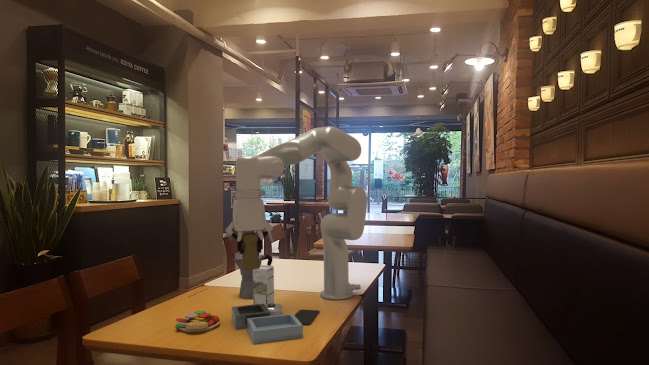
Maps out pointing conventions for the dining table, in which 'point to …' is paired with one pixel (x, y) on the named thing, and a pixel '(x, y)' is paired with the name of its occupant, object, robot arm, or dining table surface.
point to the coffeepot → (249, 277)
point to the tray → (274, 328)
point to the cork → (250, 252)
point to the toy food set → (198, 322)
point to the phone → (306, 316)
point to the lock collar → (253, 313)
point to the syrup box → (263, 285)
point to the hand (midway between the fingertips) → (250, 252)
